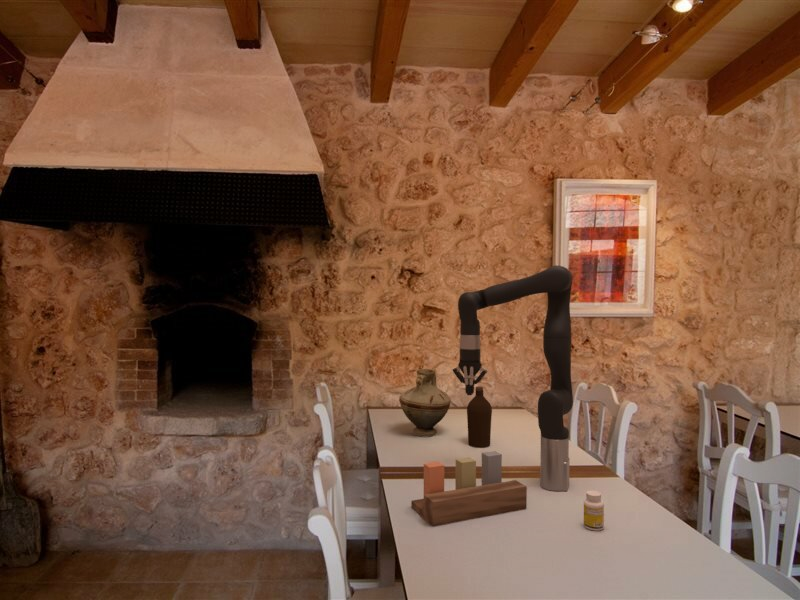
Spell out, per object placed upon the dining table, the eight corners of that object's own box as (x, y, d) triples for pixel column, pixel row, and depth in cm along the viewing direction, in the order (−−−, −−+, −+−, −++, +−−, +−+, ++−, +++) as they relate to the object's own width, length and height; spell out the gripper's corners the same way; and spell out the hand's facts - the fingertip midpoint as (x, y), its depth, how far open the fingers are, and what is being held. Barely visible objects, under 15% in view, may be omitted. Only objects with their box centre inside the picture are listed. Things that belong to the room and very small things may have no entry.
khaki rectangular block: (455, 497, 173) (455, 459, 173) (469, 494, 175) (469, 457, 175) (461, 501, 169) (461, 462, 169) (475, 499, 171) (476, 460, 171)
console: (411, 507, 171) (411, 484, 171) (499, 492, 184) (499, 471, 183) (433, 526, 157) (433, 502, 157) (526, 508, 170) (526, 486, 170)
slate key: (481, 489, 180) (481, 452, 179) (494, 487, 182) (494, 451, 181) (488, 493, 176) (488, 456, 176) (501, 491, 178) (501, 454, 178)
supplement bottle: (587, 521, 161) (588, 488, 161) (606, 526, 157) (606, 492, 157) (580, 527, 157) (580, 493, 156) (599, 533, 153) (600, 498, 153)
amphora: (404, 443, 243) (410, 377, 240) (391, 425, 266) (396, 364, 262) (454, 442, 249) (460, 377, 246) (437, 424, 272) (442, 364, 269)
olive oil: (479, 449, 231) (480, 390, 230) (461, 444, 239) (461, 386, 239) (496, 445, 238) (497, 387, 237) (478, 439, 246) (478, 384, 245)
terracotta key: (423, 502, 169) (423, 463, 168) (438, 500, 171) (438, 461, 170) (429, 507, 165) (429, 467, 165) (444, 504, 167) (444, 465, 167)
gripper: (449, 347, 199) (449, 395, 199) (485, 349, 194) (484, 398, 194) (455, 345, 206) (455, 391, 206) (490, 347, 200) (490, 394, 201)
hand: (469, 394), depth 200 cm, fingers closed
